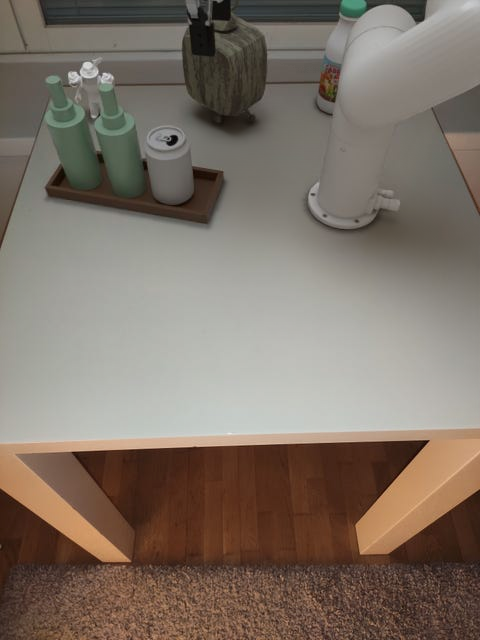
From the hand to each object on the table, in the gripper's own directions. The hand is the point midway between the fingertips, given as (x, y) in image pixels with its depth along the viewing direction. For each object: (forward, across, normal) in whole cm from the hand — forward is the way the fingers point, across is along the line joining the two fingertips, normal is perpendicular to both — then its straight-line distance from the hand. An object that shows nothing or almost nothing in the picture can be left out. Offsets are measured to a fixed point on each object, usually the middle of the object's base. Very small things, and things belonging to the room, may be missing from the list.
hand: (212, 36), depth 66 cm
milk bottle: (+27, +30, -18) cm, 44 cm away
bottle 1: (+25, -4, +25) cm, 35 cm away
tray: (+26, -5, +15) cm, 30 cm away
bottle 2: (+25, -4, +16) cm, 30 cm away
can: (+26, -5, +8) cm, 27 cm away
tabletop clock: (+26, +20, +4) cm, 33 cm away
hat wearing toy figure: (+26, +15, +29) cm, 42 cm away
